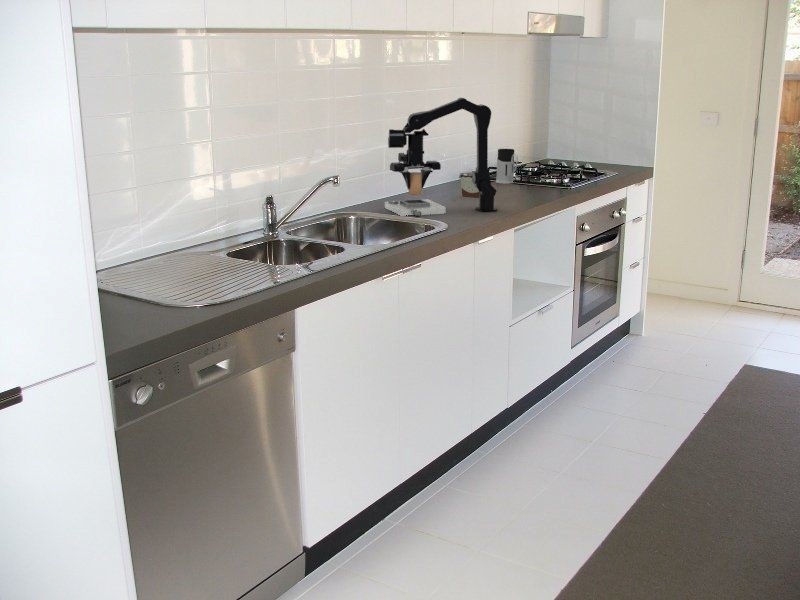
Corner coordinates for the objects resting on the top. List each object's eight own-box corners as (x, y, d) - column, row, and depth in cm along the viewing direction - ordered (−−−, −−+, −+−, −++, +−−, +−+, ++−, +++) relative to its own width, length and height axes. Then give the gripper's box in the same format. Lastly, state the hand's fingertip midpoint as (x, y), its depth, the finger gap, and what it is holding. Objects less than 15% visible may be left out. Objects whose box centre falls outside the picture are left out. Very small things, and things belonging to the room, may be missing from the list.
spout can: (423, 194, 336) (423, 173, 333) (411, 195, 334) (411, 174, 332) (417, 191, 342) (417, 171, 340) (404, 192, 340) (405, 171, 338)
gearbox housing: (448, 215, 331) (448, 205, 330) (403, 217, 325) (403, 208, 324) (427, 205, 350) (427, 196, 349) (384, 208, 344) (384, 199, 343)
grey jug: (508, 180, 415) (509, 148, 411) (524, 184, 403) (525, 151, 399) (491, 181, 412) (493, 148, 408) (507, 185, 400) (509, 152, 395)
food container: (491, 197, 369) (492, 173, 366) (485, 199, 364) (485, 175, 361) (464, 194, 375) (465, 171, 372) (458, 197, 370) (458, 173, 367)
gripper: (430, 144, 342) (430, 184, 347) (385, 146, 336) (385, 187, 341) (441, 147, 332) (440, 188, 337) (394, 149, 326) (394, 191, 331)
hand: (415, 188), depth 336 cm, fingers closed on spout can, 5 cm apart
